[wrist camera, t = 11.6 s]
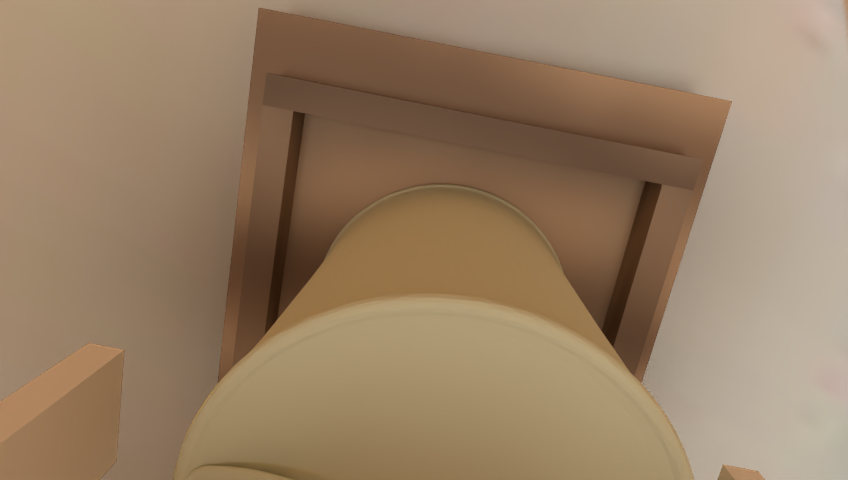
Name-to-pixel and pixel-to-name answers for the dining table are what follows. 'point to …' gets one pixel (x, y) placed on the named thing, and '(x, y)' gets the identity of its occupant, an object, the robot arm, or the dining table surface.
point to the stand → (462, 165)
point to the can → (433, 364)
